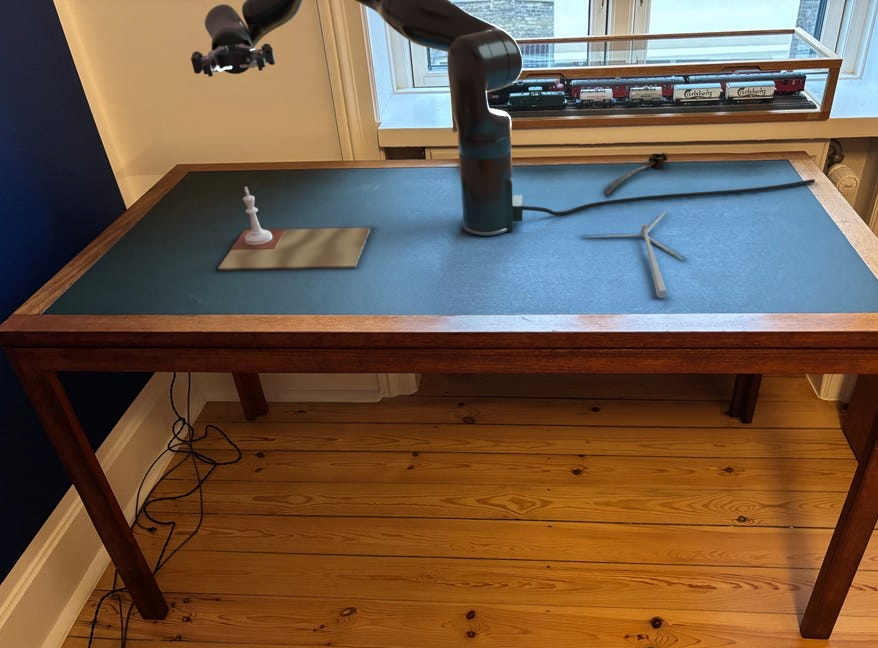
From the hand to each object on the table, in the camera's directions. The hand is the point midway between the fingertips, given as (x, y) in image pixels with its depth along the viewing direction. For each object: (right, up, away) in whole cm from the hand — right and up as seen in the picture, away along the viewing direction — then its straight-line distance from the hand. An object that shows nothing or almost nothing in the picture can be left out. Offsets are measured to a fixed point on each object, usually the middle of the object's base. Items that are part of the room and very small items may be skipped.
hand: (234, 67), depth 125 cm
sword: (+75, -13, +24) cm, 80 cm away
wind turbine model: (+69, -33, -3) cm, 76 cm away
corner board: (+10, -31, +4) cm, 33 cm away
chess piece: (+2, -29, +7) cm, 30 cm away
